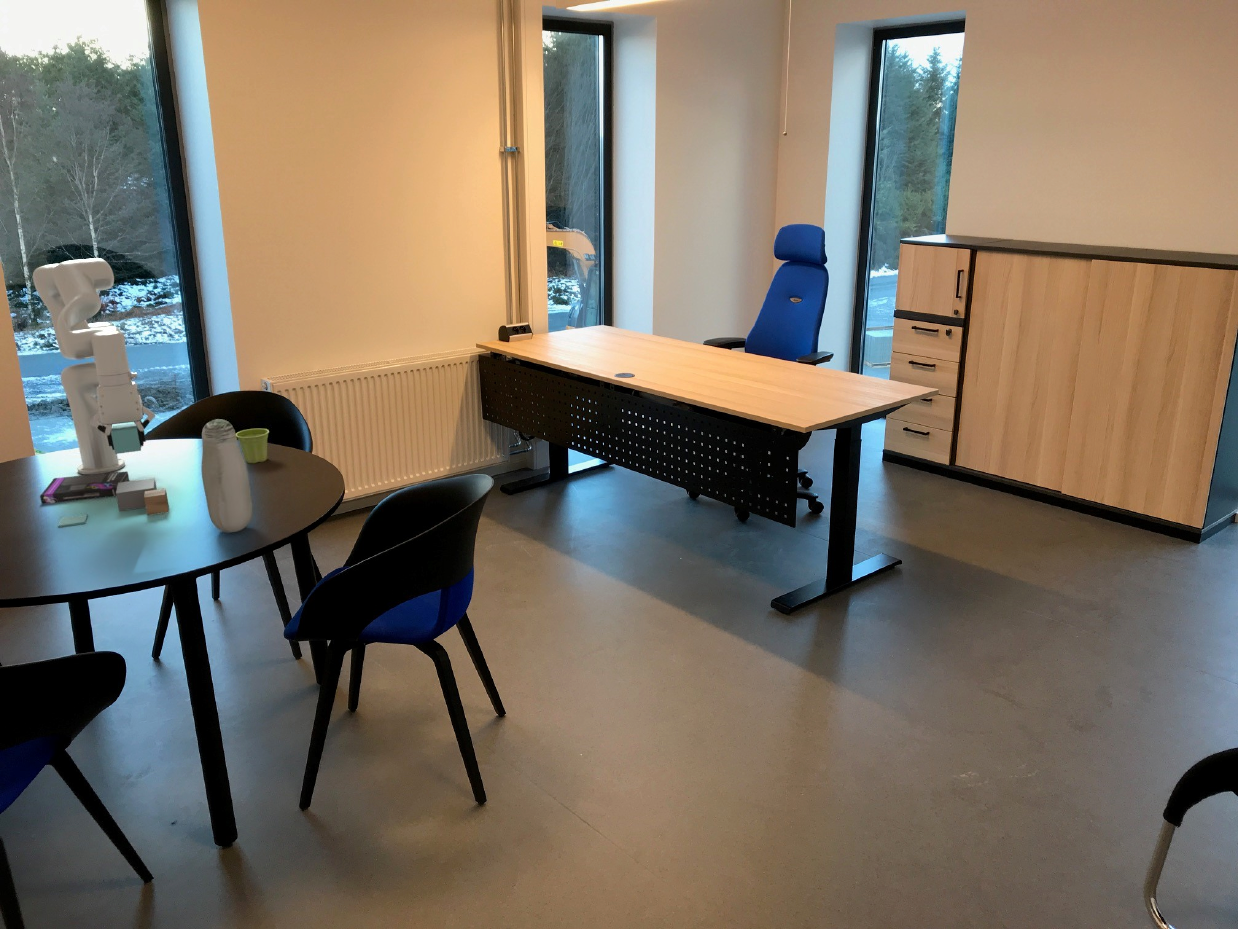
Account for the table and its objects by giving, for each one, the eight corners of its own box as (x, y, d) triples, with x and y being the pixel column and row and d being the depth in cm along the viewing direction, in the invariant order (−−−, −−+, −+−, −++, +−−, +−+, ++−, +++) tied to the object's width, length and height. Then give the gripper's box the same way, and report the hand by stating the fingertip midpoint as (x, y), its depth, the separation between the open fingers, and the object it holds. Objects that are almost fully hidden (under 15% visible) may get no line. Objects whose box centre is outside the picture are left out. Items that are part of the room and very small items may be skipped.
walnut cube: (148, 509, 261) (144, 491, 260) (168, 506, 263) (165, 488, 261) (147, 515, 257) (143, 497, 255) (168, 512, 258) (165, 494, 257)
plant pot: (249, 455, 303) (245, 428, 301) (278, 455, 302) (274, 428, 299) (234, 465, 295) (229, 437, 292) (263, 465, 293) (259, 437, 290)
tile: (61, 519, 255) (61, 517, 255) (87, 515, 257) (87, 513, 257) (58, 527, 250) (58, 525, 250) (85, 523, 252) (84, 521, 252)
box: (42, 507, 267) (120, 498, 271) (38, 495, 266) (117, 486, 270) (56, 489, 280) (130, 480, 284) (53, 478, 279) (128, 469, 283)
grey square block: (121, 500, 268) (118, 482, 266) (158, 495, 271) (154, 477, 269) (119, 511, 260) (115, 493, 258) (156, 505, 263) (153, 488, 261)
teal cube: (117, 447, 262) (112, 425, 260) (141, 444, 264) (137, 422, 262) (115, 453, 257) (110, 431, 255) (140, 450, 259) (136, 428, 257)
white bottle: (254, 534, 242) (237, 424, 233) (210, 540, 239) (190, 428, 230) (256, 520, 251) (240, 413, 242) (213, 525, 248) (195, 417, 239)
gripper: (152, 372, 261) (164, 438, 267) (79, 380, 255) (93, 447, 261) (151, 378, 254) (163, 445, 260) (76, 386, 248) (90, 455, 254)
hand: (128, 446), depth 260 cm, fingers closed on teal cube, 6 cm apart
